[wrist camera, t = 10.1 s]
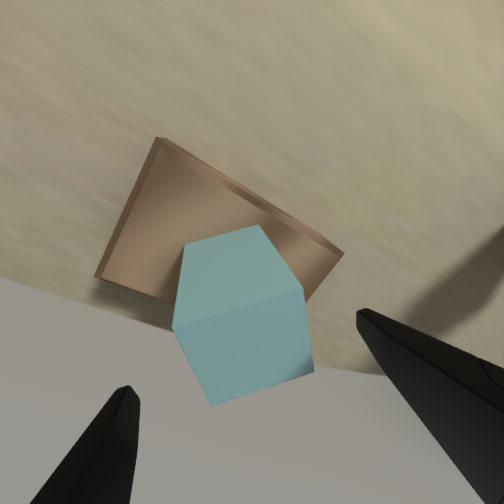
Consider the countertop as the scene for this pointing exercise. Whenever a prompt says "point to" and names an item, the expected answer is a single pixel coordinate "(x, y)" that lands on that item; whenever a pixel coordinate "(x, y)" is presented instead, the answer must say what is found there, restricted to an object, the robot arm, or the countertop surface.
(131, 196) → the walnut block
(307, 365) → the teal block
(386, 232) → the countertop surface
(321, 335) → the countertop surface
